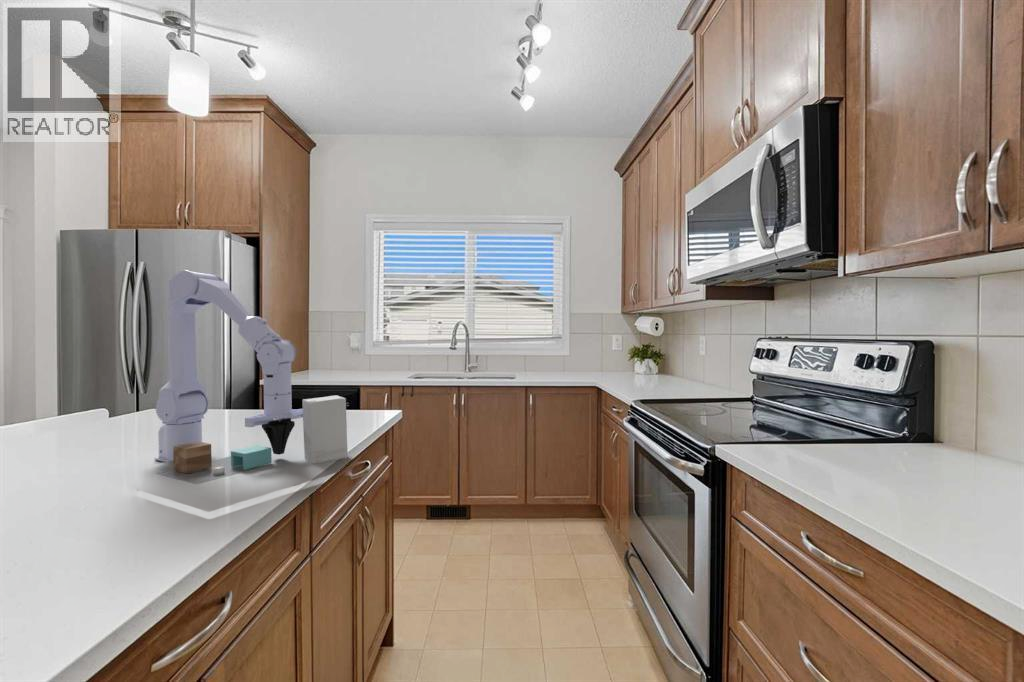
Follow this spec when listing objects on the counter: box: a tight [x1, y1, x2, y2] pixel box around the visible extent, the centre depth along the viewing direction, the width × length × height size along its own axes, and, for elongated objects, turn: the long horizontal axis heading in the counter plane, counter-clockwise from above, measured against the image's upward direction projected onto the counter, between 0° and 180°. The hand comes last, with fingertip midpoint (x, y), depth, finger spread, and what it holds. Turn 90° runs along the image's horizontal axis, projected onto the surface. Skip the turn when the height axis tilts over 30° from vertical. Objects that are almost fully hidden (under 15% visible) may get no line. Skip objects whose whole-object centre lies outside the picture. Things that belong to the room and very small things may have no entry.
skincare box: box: [301, 395, 349, 465], centre depth 114 cm, size 8×6×15 cm
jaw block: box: [172, 441, 213, 473], centre depth 105 cm, size 5×5×5 cm
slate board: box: [156, 455, 274, 485], centre depth 106 cm, size 15×16×4 cm
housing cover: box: [230, 445, 273, 470], centre depth 108 cm, size 5×6×3 cm
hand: (278, 453), depth 114 cm, fingers closed
